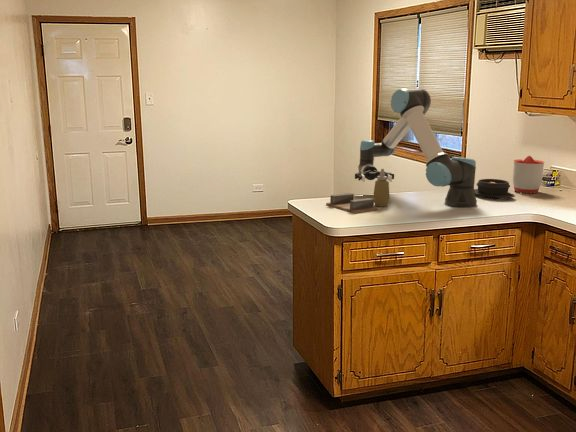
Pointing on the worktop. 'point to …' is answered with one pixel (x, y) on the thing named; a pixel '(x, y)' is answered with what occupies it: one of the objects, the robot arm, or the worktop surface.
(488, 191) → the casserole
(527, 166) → the citrus juicer
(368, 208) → the end cap board
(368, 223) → the worktop surface
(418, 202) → the worktop surface
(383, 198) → the squeeze bottle
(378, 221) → the worktop surface
